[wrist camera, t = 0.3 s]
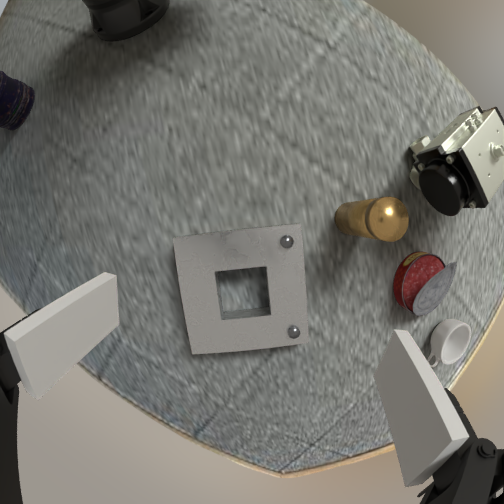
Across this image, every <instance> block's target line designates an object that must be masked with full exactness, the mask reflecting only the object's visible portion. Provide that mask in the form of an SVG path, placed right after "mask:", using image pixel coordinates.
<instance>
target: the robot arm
mask: <svg viewBox="0 0 504 504" xmlns="http://www.w3.org/2000/svg"><path fill="white" fill-rule="evenodd" d="M82 1H83V2H84V3H85V4H86V6H87V7H88V8H89V12H90V18H91V23H92V28H93V30H94V32H95V33H96V34H97V35H98V36H99V37H100V38H101V39H103V40H106V41H117V40H122V39H126V38H129V37H132V36H134V35H136V34H138V33H140V32H142V31H144V30H146V29H147V28H149V27H150V26H152V25H153V24H154V23H156V22H157V21H158V20H159V19H160V18H161V17H162V16H163V15H164V13H165V12H166V10H167V9H168V6H169V0H82ZM118 325H119V312H118V297H117V276H116V275H113V274H109V273H106V272H104V273H102V274H100V275H99V276H97V277H95V278H93V279H91V280H90V281H88V282H86V283H84V284H83V285H81V286H79V287H77V288H76V289H74V290H72V291H71V292H69V293H67V294H65V295H64V296H62V297H60V298H59V299H57V300H55V301H54V302H52V303H50V304H49V305H47V306H45V307H44V308H41V309H38V310H35V311H34V312H32V313H31V314H29V315H28V316H26V317H24V318H23V319H22V320H19V321H18V322H16V323H15V324H13V325H12V326H10V327H8V328H7V329H5V330H4V331H2V332H1V333H0V504H23V501H22V495H21V489H20V481H19V471H18V457H17V413H18V397H19V387H18V385H17V384H18V383H19V382H20V381H22V383H23V386H24V388H25V390H26V392H27V393H29V394H30V395H31V396H33V397H34V398H35V399H37V400H39V399H40V398H41V397H42V396H43V395H44V394H45V393H46V392H47V391H48V390H49V389H50V388H51V387H52V386H53V385H54V384H55V383H56V382H58V381H59V379H61V378H62V377H63V376H64V375H65V374H66V373H67V372H68V371H69V370H70V369H71V368H72V367H73V366H74V365H75V364H77V363H78V362H79V361H80V360H81V359H82V358H83V357H84V356H85V355H86V354H87V353H88V352H89V351H90V350H92V349H93V348H94V347H95V346H96V345H97V344H98V343H99V342H100V341H101V340H102V339H104V338H105V337H106V336H107V335H108V334H109V333H110V332H111V331H112V330H114V329H115V328H116V327H117V326H118ZM374 379H375V382H376V385H377V388H378V391H379V394H380V397H381V401H382V404H383V407H384V410H385V413H386V417H387V420H388V423H389V427H390V430H391V434H392V437H393V441H394V444H395V448H396V451H397V456H398V459H399V463H400V467H401V471H402V475H403V480H404V484H405V487H409V486H414V485H419V484H423V483H424V482H425V481H426V480H427V479H428V478H429V477H431V476H433V479H434V482H432V483H431V484H430V485H429V486H428V487H427V488H425V489H424V490H423V491H422V492H421V493H419V495H418V496H417V497H420V496H422V495H423V494H424V493H425V495H424V497H423V498H422V501H421V502H420V504H504V449H497V448H496V446H495V445H494V444H493V443H492V442H491V441H490V440H488V439H484V438H479V439H478V438H477V436H476V434H475V432H474V430H473V428H472V426H471V424H470V422H469V421H468V419H467V417H466V415H465V414H463V412H464V411H463V410H462V408H461V407H460V404H459V402H458V401H457V399H456V397H455V396H454V395H453V394H452V393H451V392H450V391H449V390H448V389H447V388H443V387H442V385H441V383H440V381H439V380H438V378H437V376H436V375H435V373H434V371H433V370H432V368H431V366H430V365H429V363H428V362H427V360H426V358H425V357H424V355H423V354H422V352H421V350H420V349H419V347H418V346H417V344H416V343H415V341H414V340H413V338H412V337H411V335H410V334H409V332H408V331H404V330H395V329H394V331H393V333H392V336H391V338H390V341H389V343H388V345H387V348H386V350H385V352H384V354H383V357H382V359H381V361H380V363H379V365H378V367H377V370H376V372H375V374H374ZM502 487H503V493H502V494H501V495H500V496H499V497H497V498H496V492H497V491H498V490H500V489H501V488H502Z"/></svg>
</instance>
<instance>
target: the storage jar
mask: <svg viewBox="0 0 504 504" xmlns="http://www.w3.org/2000/svg"><path fill="white" fill-rule="evenodd" d="M34 98H35V93H34V90H33V89H32V88H31V87H29V86H27V85H26V84H25V83H23V82H21V81H18V80H16V79H12V78H10V77H8V76H7V75H6V74H5V73H4V72H3V71H0V127H1V128H6V129H9V130H15V129H17V128H18V127H19V126H20V125H21V124H22V123H23V122H24V121H25V119H26V118H27V116H28V115H29V113H30V111H31V109H32V106H33V103H34Z"/></svg>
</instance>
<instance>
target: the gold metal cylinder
mask: <svg viewBox="0 0 504 504" xmlns="http://www.w3.org/2000/svg"><path fill="white" fill-rule="evenodd" d="M335 222H336V225H337V227H338V229H339V230H340V231H341V232H343V233H345V234H348V235H354V236H360V237H366V238H371V239H377V240H382V241H389V242H393V241H397V240H399V239H400V238H401V237H402V236H403V235H404V234H405V232H406V230H407V228H408V223H409V217H408V212H407V209H406V207H405V206H404V204H403V203H402V202H401V201H400V200H399V199H397V198H394V197H382V198H376V199H369V200H361V201H354V202H348V203H344V204H342V205H341V206H340V207H339V208H338V209H337V211H336V214H335Z"/></svg>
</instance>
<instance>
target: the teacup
mask: <svg viewBox="0 0 504 504" xmlns="http://www.w3.org/2000/svg"><path fill="white" fill-rule="evenodd" d="M470 338H471V329H470V327H469V325H468V324H466V323H463V322H461V321H458V320H456V319H447V320H444V321H442V322H441V323H439V324H438V325H437V326H436V328H435V329H434V331H433V333H432V336H431V353H430V355H429V357H428V360H427V362H428V363H429V361H430V359H431V358H432V357H433V356H434V355H435V358H436V360H435V363H434V364H433V365H430V364H429V365H430V366H431V368H433V367H435V366H436V365H437V364H438V363H439V361H442V362H443V363H444V364H452V363H454V362H456V361H457V360H458V359H459V358H460V357H461V356H462V355H463V354H464V352H465V351H466V349H467V347H468V345H469V342H470Z"/></svg>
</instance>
